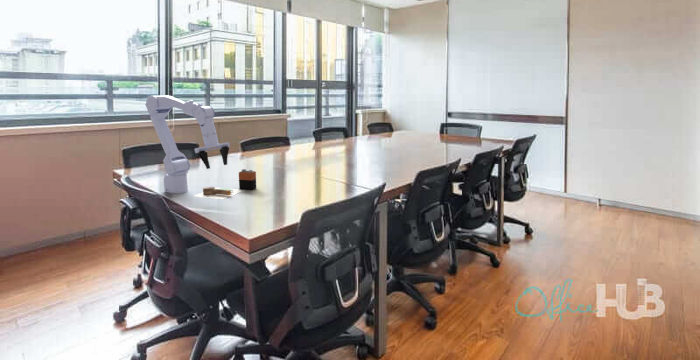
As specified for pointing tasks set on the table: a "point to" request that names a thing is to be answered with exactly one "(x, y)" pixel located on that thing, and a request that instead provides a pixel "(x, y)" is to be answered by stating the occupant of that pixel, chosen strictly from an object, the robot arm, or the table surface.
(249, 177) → the battery
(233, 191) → the board
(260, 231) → the table surface
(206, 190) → the dial
